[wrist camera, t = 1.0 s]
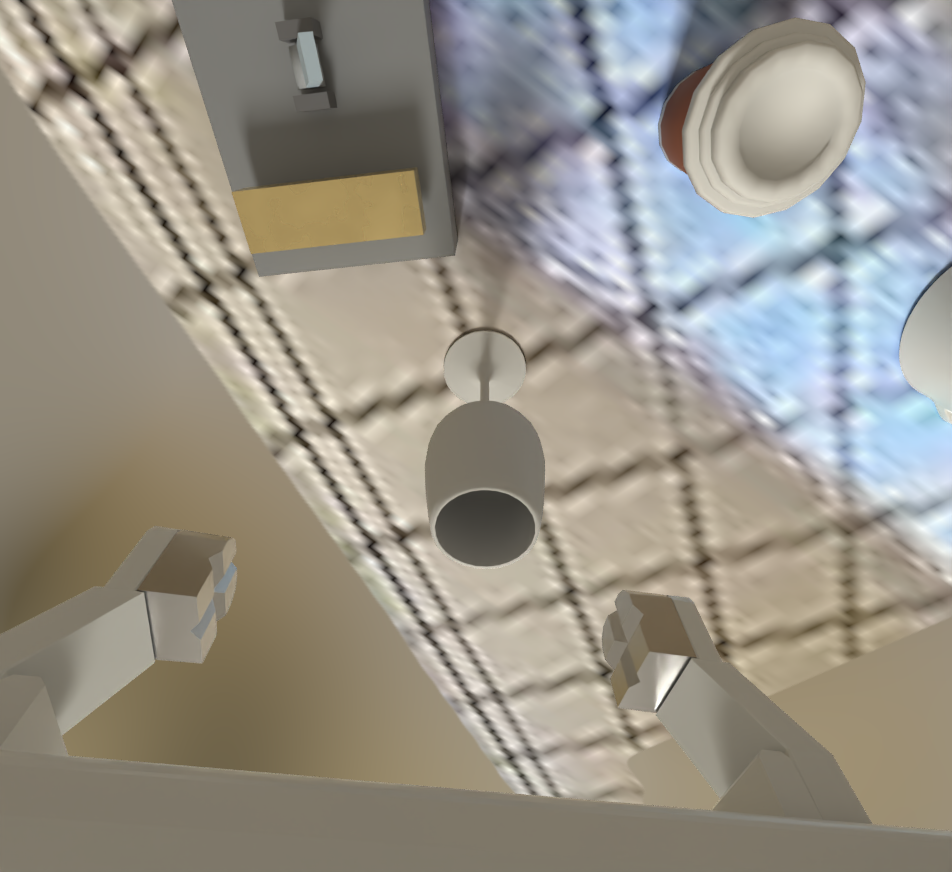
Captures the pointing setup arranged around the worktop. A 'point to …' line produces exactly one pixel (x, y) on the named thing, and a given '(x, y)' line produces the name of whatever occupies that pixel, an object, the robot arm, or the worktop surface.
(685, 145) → the coffee cup
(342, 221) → the gold rectangular block
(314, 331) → the worktop surface
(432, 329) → the worktop surface
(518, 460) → the wineglass
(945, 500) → the worktop surface
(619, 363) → the worktop surface
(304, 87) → the paddle
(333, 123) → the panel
